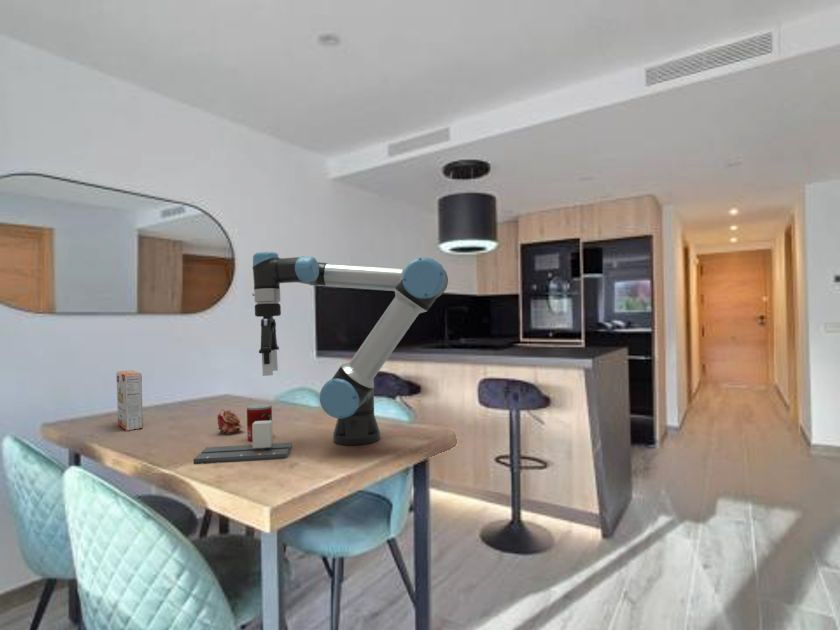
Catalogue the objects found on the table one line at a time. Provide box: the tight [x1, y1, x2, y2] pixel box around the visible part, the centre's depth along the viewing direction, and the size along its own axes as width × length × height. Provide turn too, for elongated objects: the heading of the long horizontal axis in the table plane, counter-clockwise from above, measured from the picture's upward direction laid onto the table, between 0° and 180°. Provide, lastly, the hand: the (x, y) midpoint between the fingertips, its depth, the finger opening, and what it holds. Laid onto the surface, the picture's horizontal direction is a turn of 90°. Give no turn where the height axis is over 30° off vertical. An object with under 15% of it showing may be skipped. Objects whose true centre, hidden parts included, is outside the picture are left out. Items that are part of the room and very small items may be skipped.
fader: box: [252, 419, 274, 450], centre depth 139 cm, size 5×4×8 cm
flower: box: [217, 409, 244, 435], centre depth 167 cm, size 10×9×8 cm
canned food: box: [246, 403, 273, 442], centre depth 158 cm, size 8×8×11 cm
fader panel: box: [193, 442, 293, 465], centre depth 139 cm, size 25×12×1 cm, turn 98°
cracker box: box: [116, 370, 144, 432], centre depth 179 cm, size 14×6×21 cm, turn 43°
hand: (270, 373), depth 144 cm, fingers open, 13 cm apart
